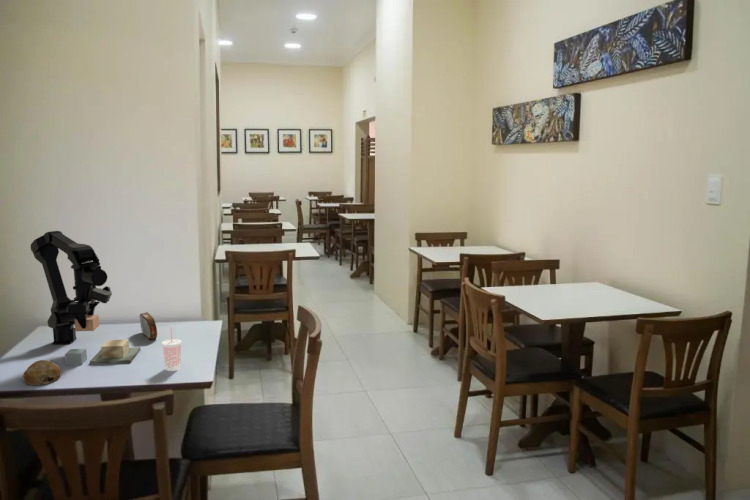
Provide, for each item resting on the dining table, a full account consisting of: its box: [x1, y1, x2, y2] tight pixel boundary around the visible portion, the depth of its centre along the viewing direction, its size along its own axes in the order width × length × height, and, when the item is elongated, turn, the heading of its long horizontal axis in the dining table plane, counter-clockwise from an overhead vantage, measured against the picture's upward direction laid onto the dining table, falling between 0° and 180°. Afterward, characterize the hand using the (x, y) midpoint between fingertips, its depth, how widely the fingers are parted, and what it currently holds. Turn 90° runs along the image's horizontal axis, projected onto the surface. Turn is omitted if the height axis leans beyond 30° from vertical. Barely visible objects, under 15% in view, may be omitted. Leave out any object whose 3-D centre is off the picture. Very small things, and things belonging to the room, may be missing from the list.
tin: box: [139, 311, 158, 340], centre depth 234 cm, size 15×3×8 cm, turn 34°
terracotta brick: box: [74, 314, 100, 332], centre depth 216 cm, size 6×6×4 cm
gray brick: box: [64, 348, 88, 366], centre depth 206 cm, size 5×5×4 cm
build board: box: [89, 339, 141, 365], centre depth 211 cm, size 13×13×5 cm
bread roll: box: [22, 359, 62, 386], centre depth 190 cm, size 10×10×8 cm
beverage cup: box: [161, 326, 182, 372], centre depth 200 cm, size 6×6×14 cm
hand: (87, 325), depth 216 cm, fingers closed on terracotta brick, 6 cm apart
